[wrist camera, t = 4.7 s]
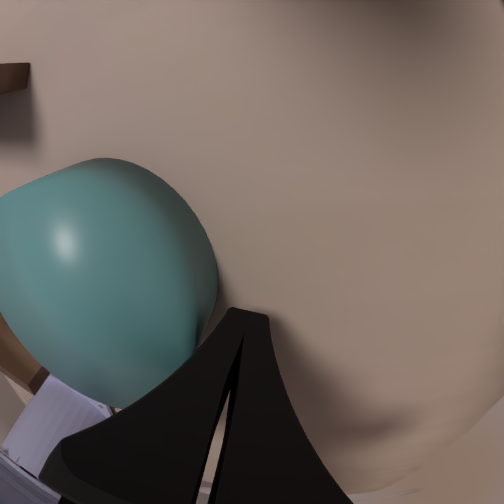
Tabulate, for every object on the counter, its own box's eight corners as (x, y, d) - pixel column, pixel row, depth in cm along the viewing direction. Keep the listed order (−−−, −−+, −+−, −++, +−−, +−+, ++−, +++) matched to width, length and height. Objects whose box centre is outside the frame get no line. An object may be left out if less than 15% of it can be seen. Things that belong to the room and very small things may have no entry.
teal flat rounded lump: (226, 357, 13) (205, 430, 9) (75, 328, 14) (38, 376, 10) (209, 147, 8) (150, 174, 5) (27, 171, 10) (-39, 202, 6)
